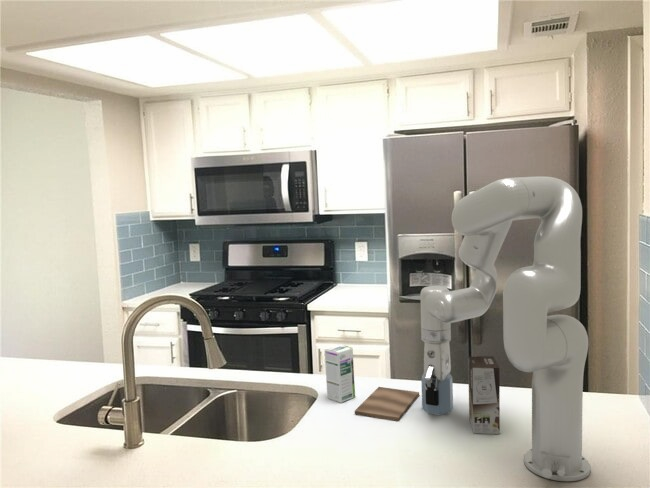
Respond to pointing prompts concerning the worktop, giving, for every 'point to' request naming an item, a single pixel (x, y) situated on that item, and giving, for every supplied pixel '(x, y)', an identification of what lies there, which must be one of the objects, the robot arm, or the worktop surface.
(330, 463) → the worktop surface
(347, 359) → the syrup box
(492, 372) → the coffee box
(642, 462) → the worktop surface
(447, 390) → the cup
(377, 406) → the board
